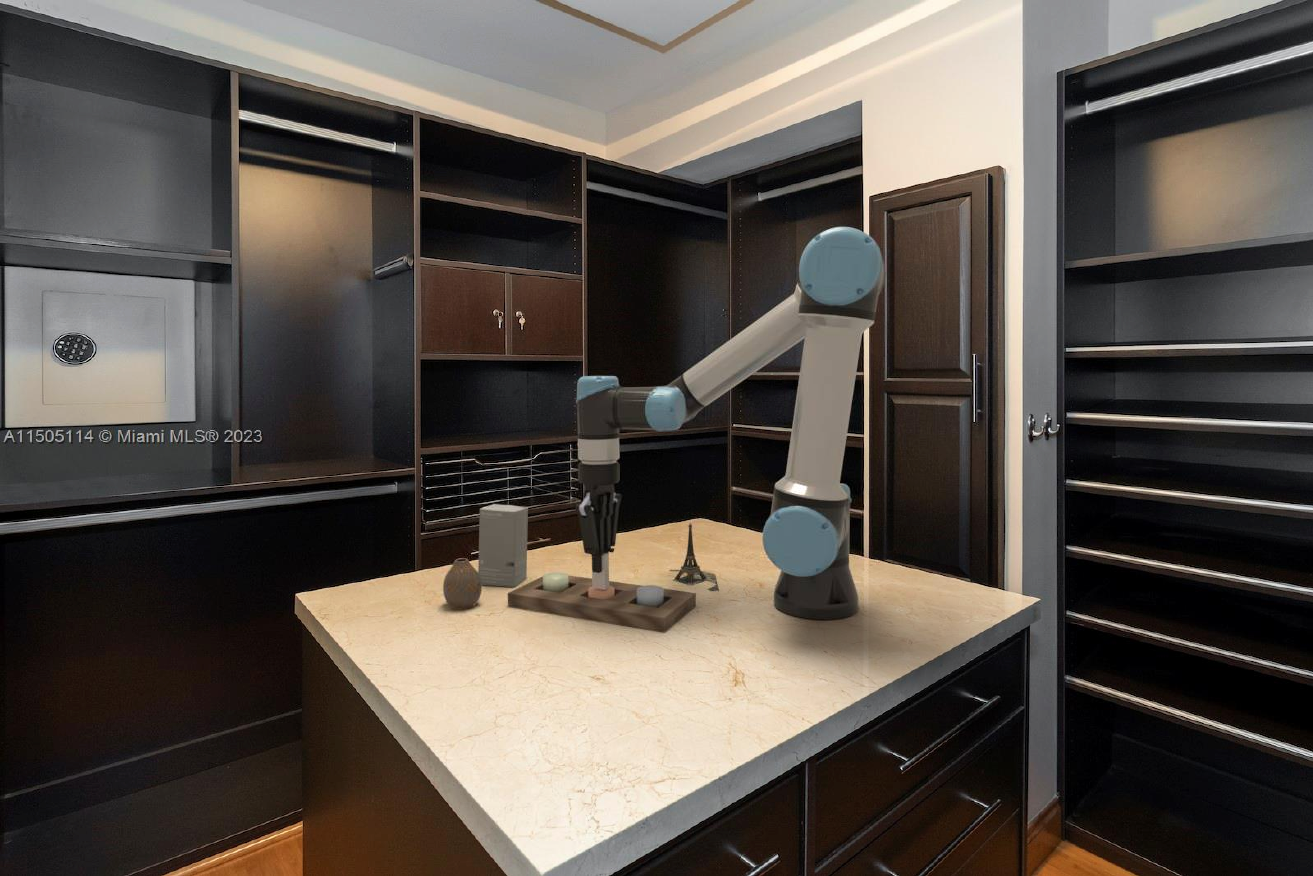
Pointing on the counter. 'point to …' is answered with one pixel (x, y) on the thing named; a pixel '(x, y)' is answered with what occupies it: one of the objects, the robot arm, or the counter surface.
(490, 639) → the counter surface
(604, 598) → the button terracotta
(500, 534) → the skincare box
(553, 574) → the button sage
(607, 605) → the button board
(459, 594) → the vase
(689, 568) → the eiffel tower figurine
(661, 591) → the button slate
